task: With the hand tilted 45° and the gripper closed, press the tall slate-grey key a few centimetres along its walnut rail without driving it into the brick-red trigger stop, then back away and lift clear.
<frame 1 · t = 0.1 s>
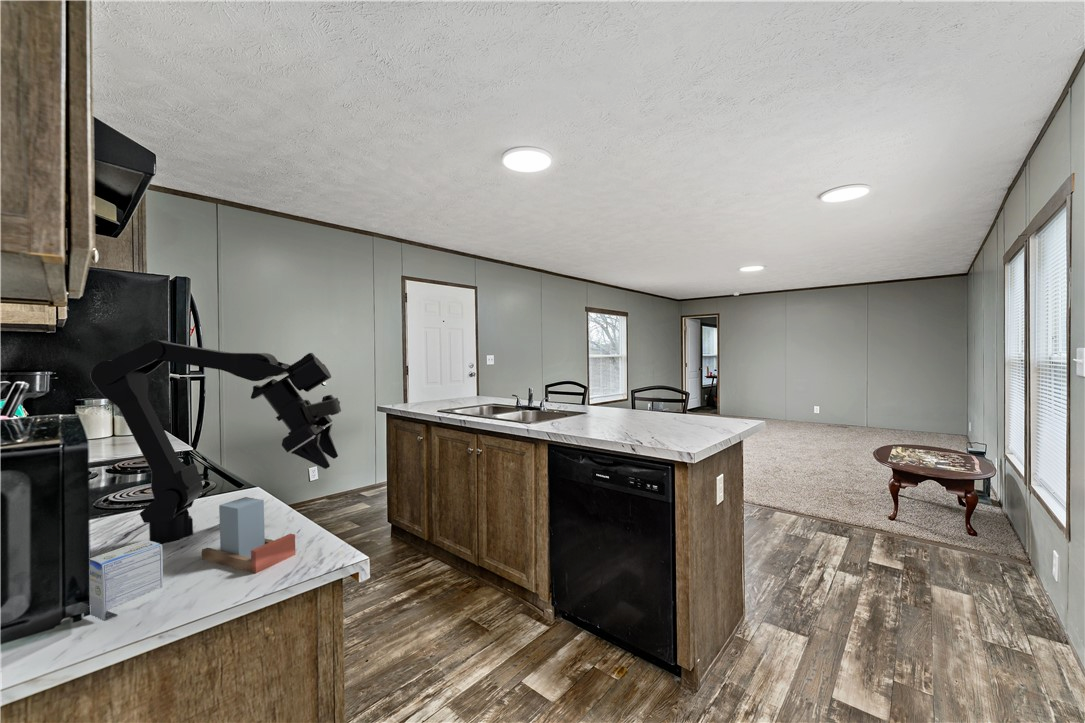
hand: (332, 462, 103), 15 cm above the counter, tool tilted 35°, fingers open, 9 cm apart
medicine box: (127, 606, 73), on the counter
slate key: (242, 529, 87), point 6 cm above the counter, slide at 0.0 cm
key housing: (243, 562, 87), on the counter
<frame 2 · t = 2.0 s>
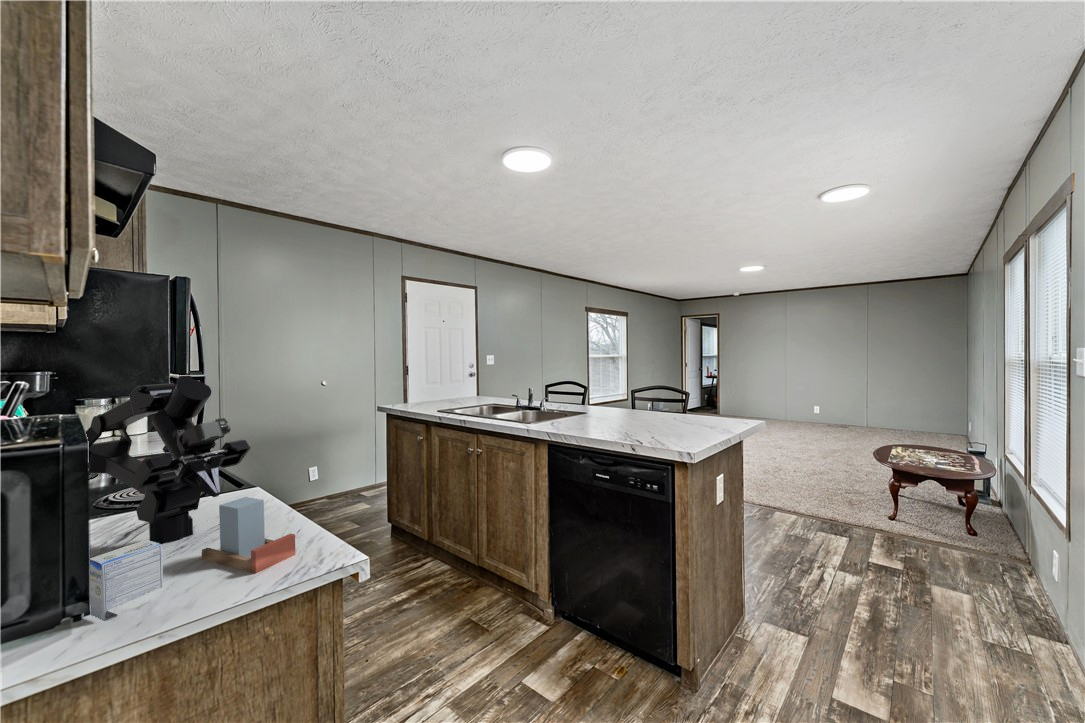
hand: (217, 495, 89), 12 cm above the counter, tool tilted 45°, fingers closed
nothing on the counter moved.
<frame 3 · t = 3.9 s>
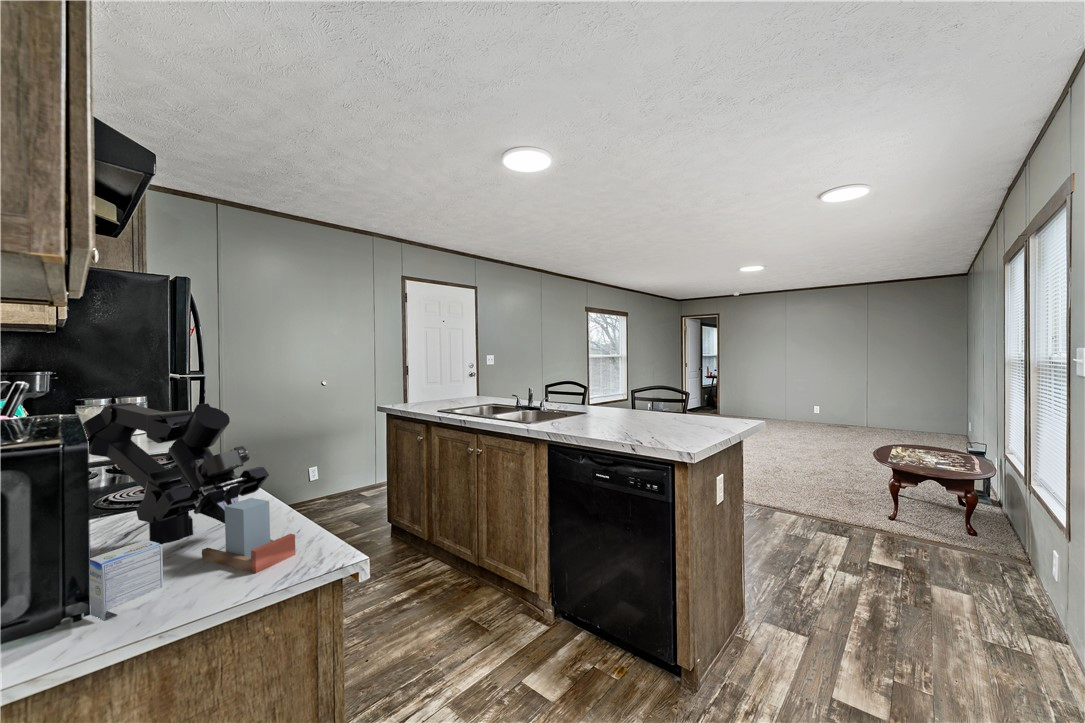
hand: (237, 526, 88), 7 cm above the counter, tool tilted 45°, fingers closed, pressing on slate key
slate key: (247, 530, 87), point 6 cm above the counter, slide at 1.5 cm, touching gripper
everything else where it was.
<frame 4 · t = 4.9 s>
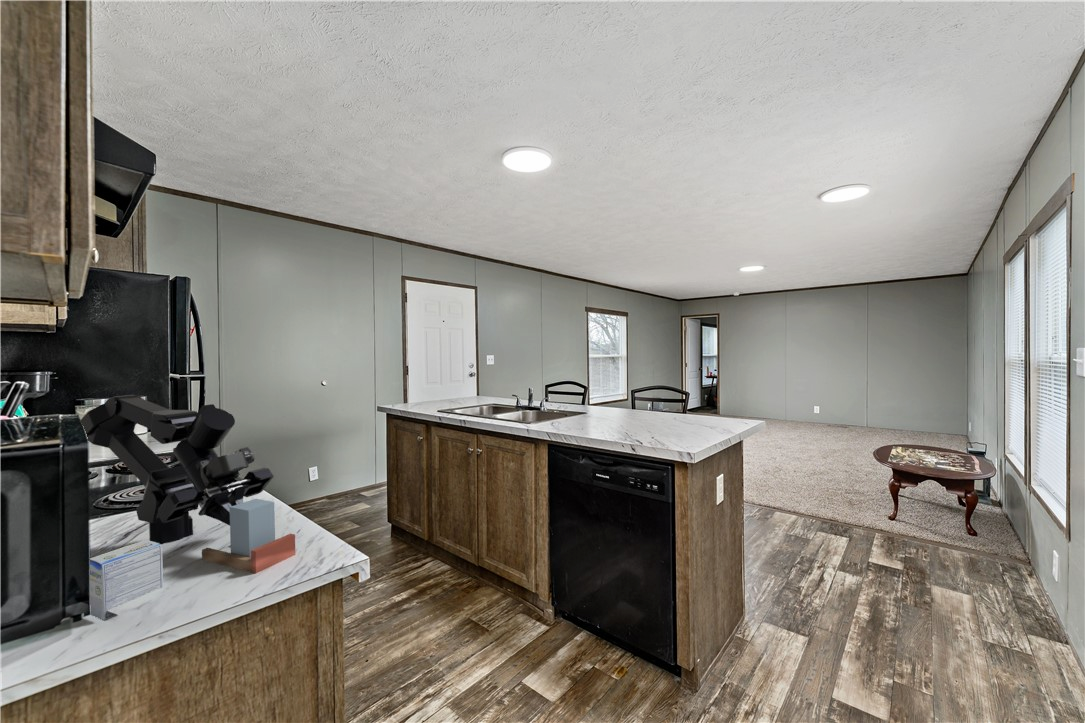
hand: (242, 528, 87), 7 cm above the counter, tool tilted 45°, fingers closed
slate key: (252, 531, 86), point 6 cm above the counter, slide at 2.8 cm
everything else where it was.
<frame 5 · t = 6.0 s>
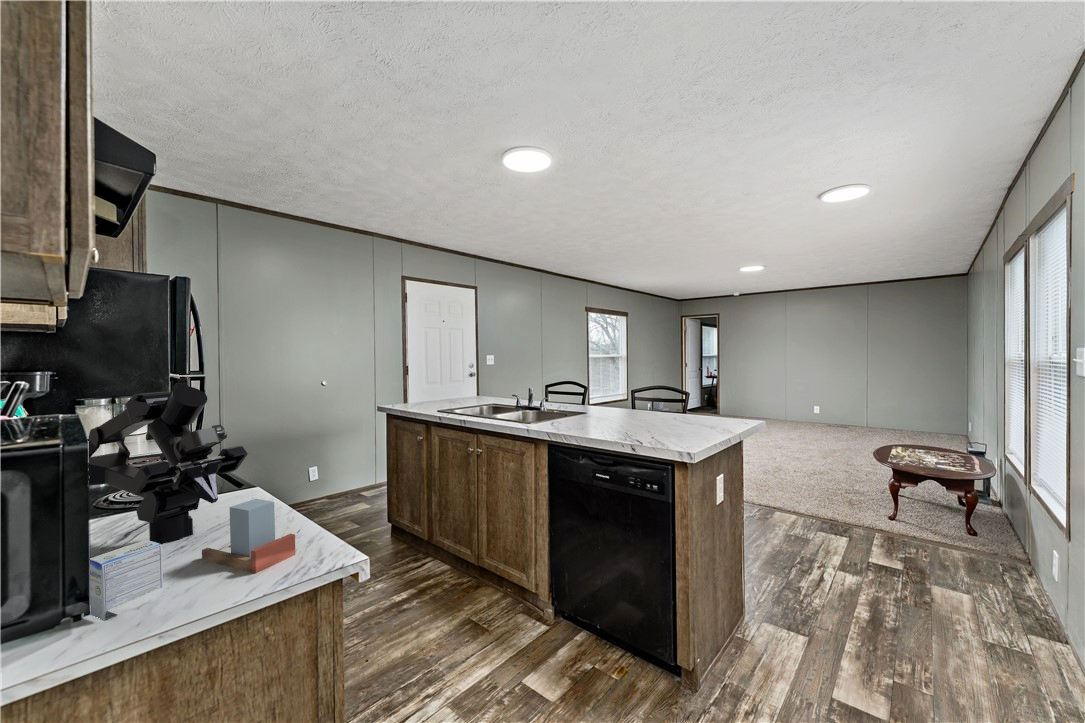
hand: (215, 501, 90), 11 cm above the counter, tool tilted 45°, fingers closed
nothing on the counter moved.
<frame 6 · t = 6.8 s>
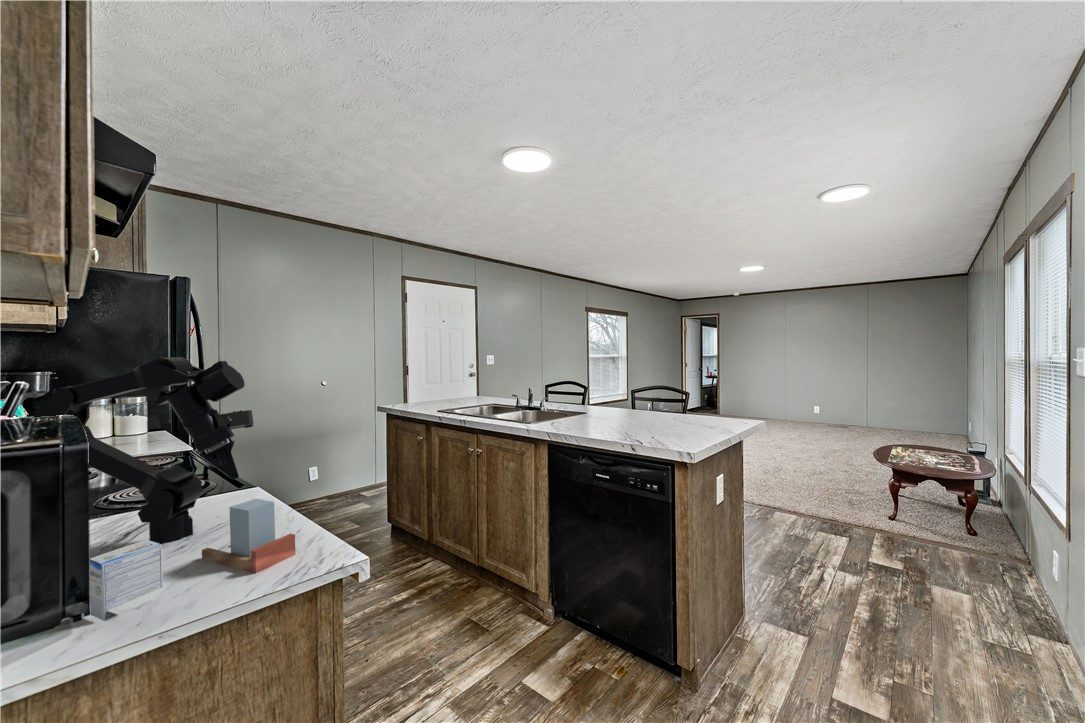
hand: (236, 478, 96), 13 cm above the counter, tool tilted 30°, fingers closed
nothing on the counter moved.
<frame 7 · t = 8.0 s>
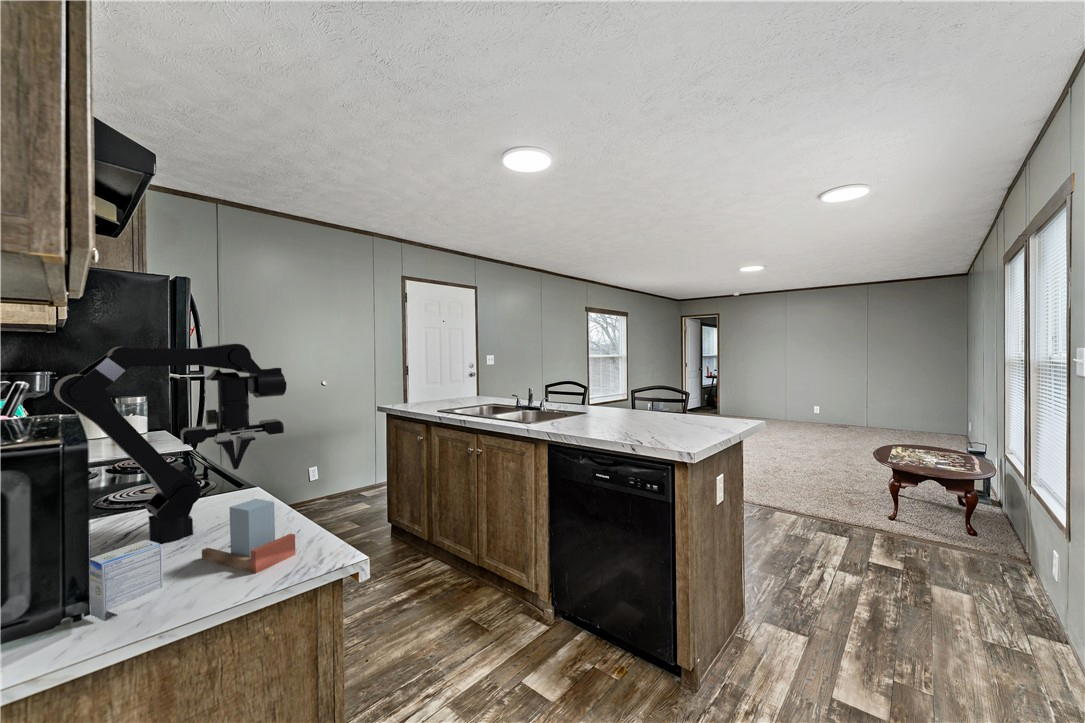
hand: (235, 469, 105), 13 cm above the counter, tool pointing down, fingers closed
nothing on the counter moved.
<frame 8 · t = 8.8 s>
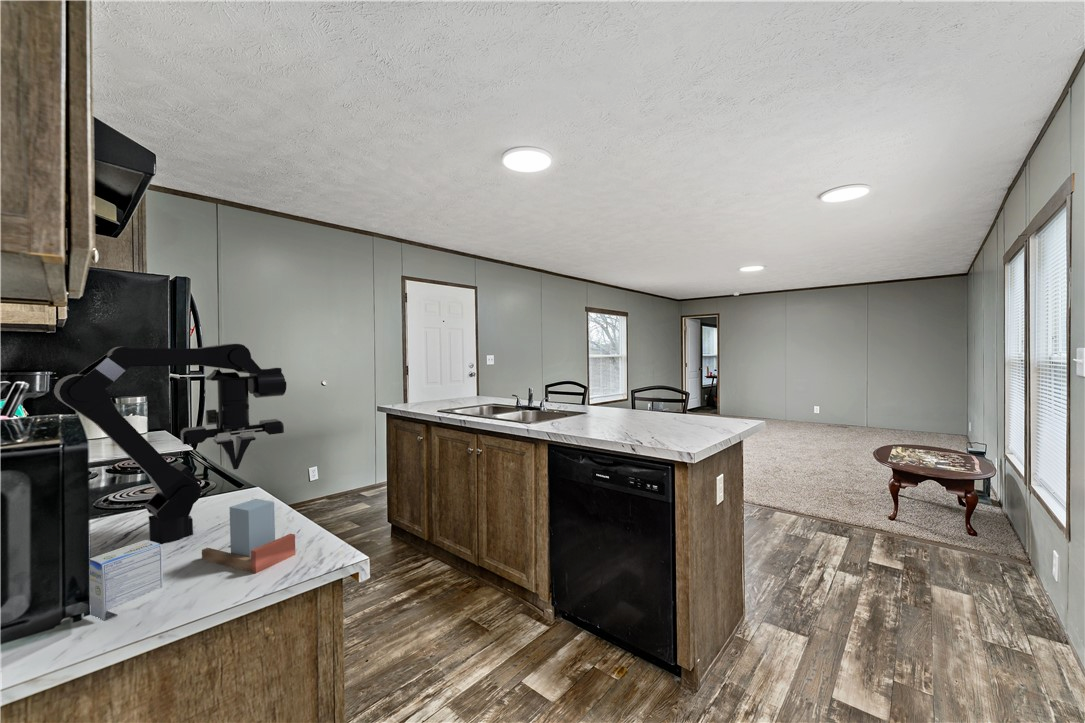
hand: (235, 469, 105), 13 cm above the counter, tool pointing down, fingers closed
nothing on the counter moved.
at the end: slate key slide at 2.8 cm; medicine box moved 0.3 cm from its start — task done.
